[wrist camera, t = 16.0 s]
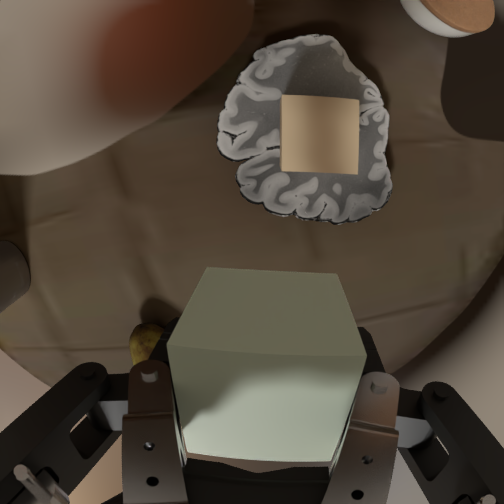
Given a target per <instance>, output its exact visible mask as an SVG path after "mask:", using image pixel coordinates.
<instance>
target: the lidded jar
mask: <svg viewBox="0 0 504 504" xmlns="http://www.w3.org/2000/svg"><path fill="white" fill-rule="evenodd" d="M400 2H401V4H402V6H403V8H404V9H405V11H406V12H407V14H408V15H409V16H410V17H411V18H412V19H413V20H414V21H415V22H416V23H417V24H419V25H420V26H421V27H423V28H424V29H426V30H428V31H430V32H432V33H434V34H437V35H441V36H445V37H462V36H467V35H470V34H473V33H478V32H481V31H484V30H486V29H488V28H489V27H490V26H491V25H492V23H493V21H494V16H495V8H494V2H493V0H400Z"/></svg>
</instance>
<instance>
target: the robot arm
mask: <svg viewBox="0 0 504 504" xmlns="http://www.w3.org/2000/svg"><path fill="white" fill-rule="evenodd" d="M29 286H30V273H29V269H28V266H27V263H26V261H25V258H24V257H23V255H22V253H21V252H20V251H19V249H18V248H17V247H16V246H15V245H14V244H12V243H11V242H8V241H1V242H0V313H1V312H2V311H4V310H5V309H6V308H7V307H9V306H10V305H11V304H12V303H14V302H15V301H16V300H18V299H19V298H20V297H21V296H23V295H24V294H25V293H26V292H27V291H28V289H29ZM179 319H180V318H177V317H176V318H175V319H173V320H172V321H171V322H169V323H168V324H167V326H166V327H165V329H164V331H163V333H162V334H161V336H160V339H159V340H158V342H157V343H156V345H155V347H154V349H153V351H152V353H151V354H150V356H149V358H148V360H144V361H141V362H139V363H137V364H135V365H134V366H133V367H132V368H131V369H130V372H129V373H125V374H108V373H107V370H106V368H105V367H104V366H103V365H101V364H99V363H95V362H87V363H83V364H80V365H78V366H77V367H75V368H74V369H73V370H72V371H71V372H69V373H68V374H67V375H66V376H65V377H64V378H62V379H61V380H60V381H59V382H58V383H57V384H55V385H54V386H53V387H52V388H51V389H50V390H49V391H47V392H46V393H45V394H44V395H43V396H42V397H40V398H39V399H38V400H37V401H36V402H35V403H34V404H32V406H30V407H29V408H28V409H27V410H26V411H24V412H23V413H22V414H21V415H20V416H19V417H18V418H16V419H15V420H14V421H13V422H12V423H11V424H10V425H9V426H7V427H6V428H5V429H4V430H3V431H2V432H1V433H0V504H70V501H69V498H68V496H69V495H70V493H71V492H72V491H73V490H74V489H75V488H76V487H77V485H78V484H79V483H80V482H81V481H82V480H83V478H84V477H85V476H86V475H87V474H88V473H89V471H90V470H91V469H92V468H93V467H94V466H95V465H96V463H97V462H98V461H99V460H100V459H101V457H102V456H103V455H104V454H105V453H106V452H107V450H108V449H109V448H110V447H111V446H112V445H113V443H114V442H115V441H116V440H117V439H118V437H119V436H120V435H121V434H122V484H123V492H121V493H120V494H118V495H116V496H114V497H113V498H111V499H109V500H107V501H105V502H103V503H101V504H386V502H387V498H388V493H389V488H390V484H391V479H392V473H393V469H394V463H395V457H396V451H397V448H398V450H399V452H400V453H401V455H402V457H403V458H404V460H405V462H406V463H407V465H408V467H409V469H410V470H411V472H412V474H413V476H414V477H415V479H416V481H417V482H418V484H419V486H420V488H421V489H422V491H423V493H424V495H425V496H426V498H427V500H428V501H429V503H430V504H504V448H503V447H502V446H501V445H500V443H499V442H498V441H497V440H496V438H495V437H494V436H493V435H492V434H491V432H490V431H489V430H488V428H487V427H486V426H485V425H484V424H483V422H482V421H481V420H480V419H479V418H478V417H477V415H476V414H475V413H474V412H473V410H472V409H471V408H470V407H469V406H468V404H467V403H466V402H465V401H464V400H463V399H462V397H461V396H460V395H459V394H458V393H457V392H456V391H455V389H454V388H453V387H451V386H450V385H448V384H446V383H443V382H436V381H435V382H430V383H428V384H426V385H425V386H424V388H423V390H422V392H421V391H414V390H408V389H403V388H401V387H399V383H398V382H397V380H396V379H395V378H394V377H393V376H391V375H389V374H387V373H386V372H385V370H384V367H383V365H382V362H381V359H380V357H379V354H378V352H377V351H376V350H377V349H376V346H375V344H374V341H373V339H372V336H371V334H370V333H369V332H368V331H367V330H366V329H364V328H363V327H357V328H358V331H359V334H360V337H361V340H362V342H363V345H364V348H365V351H366V354H367V358H366V361H365V365H364V368H363V371H362V375H361V378H360V381H359V384H358V387H357V391H356V394H355V397H354V400H353V403H352V406H351V409H350V411H349V414H348V417H347V420H346V423H345V427H344V430H343V433H342V436H341V439H340V442H339V445H338V448H337V451H336V454H335V457H334V460H333V463H332V466H331V468H330V471H329V468H328V467H293V468H287V469H281V470H276V471H270V472H263V473H254V472H250V471H247V470H243V469H240V468H237V467H233V466H230V465H227V464H224V463H220V462H212V461H205V460H198V459H192V458H187V460H186V454H185V449H184V443H183V437H182V432H181V424H180V419H179V418H180V416H179V412H178V407H177V402H176V396H175V391H174V386H173V380H172V375H171V369H170V363H169V357H168V351H167V342H168V341H169V339H170V337H171V335H172V333H173V331H174V329H175V327H176V325H177V323H178V321H179ZM85 414H86V415H87V417H86V418H85V419H84V420H83V421H82V422H81V423H80V424H79V425H78V426H77V427H76V428H75V429H74V430H73V431H72V432H71V433H70V431H71V429H72V428H73V426H74V425H75V424H76V423H77V422H78V421H79V420H80V419H81V418H82V417H83V416H84V415H85ZM437 436H438V438H439V439H440V441H441V442H442V443H443V445H444V446H445V448H446V449H447V451H448V453H449V455H448V454H447V452H446V451H445V450H444V448H443V447H442V445H441V444H440V442H439V441H438V439H437V438H436V437H437Z"/></svg>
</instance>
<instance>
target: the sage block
mask: <svg viewBox="0 0 504 504" xmlns="http://www.w3.org/2000/svg"><path fill="white" fill-rule="evenodd" d="M167 351H168V357H169V363H170V369H171V375H172V380H173V386H174V391H175V396H176V402H177V407H178V412H179V416H180V421H181V426H182V430H183V435H184V439H185V443H186V448H187V451H188V452H191V453H197V454H205V455H211V456H220V457H228V458H238V459H251V460H266V461H267V460H268V461H331V458H332V456H333V454H334V451H335V449H336V446H337V444H338V441H339V439H340V436H341V433H342V431H343V428H344V425H345V423H346V420H347V417H348V414H349V411H350V409H351V406H352V403H353V400H354V397H355V394H356V391H357V387H358V384H359V381H360V378H361V375H362V371H363V368H364V365H365V361H366V358H367V354H366V351H365V348H364V345H363V342H362V340H361V337H360V334H359V331H358V328H357V326H356V323H355V320H354V317H353V315H352V312H351V309H350V307H349V304H348V301H347V299H346V296H345V293H344V291H343V288H342V286H341V283H340V280H339V278H338V275H337V274H329V273H307V272H286V271H266V270H248V269H230V268H212V267H207V268H206V270H205V272H204V274H203V276H202V277H201V279H200V281H199V283H198V285H197V287H196V289H195V291H194V292H193V294H192V296H191V298H190V300H189V302H188V304H187V306H186V308H185V310H184V312H183V313H182V315H181V317H180V319H179V321H178V323H177V325H176V327H175V329H174V331H173V333H172V335H171V337H170V339H169V341H168V342H167Z"/></svg>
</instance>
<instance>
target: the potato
mask: <svg viewBox="0 0 504 504" xmlns="http://www.w3.org/2000/svg"><path fill="white" fill-rule="evenodd" d="M163 331H164V329H163V328H161V327H160V326H158V325H155V324H152V323H144V324H139V325H137V326H136V327H135V329H134V330H133V332H132V334H131V336H130V339H129V347H130V353H131V357H132V361H133V365H135V364H137V363H139V362H141V361H144V360H148V358H149V356H150V354H151V353H152V351H153V349H154V347H155V345H156V343H157V342H158V340H159V339H160V336H161V334H162V333H163ZM179 419H180V418H179Z"/></svg>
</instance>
